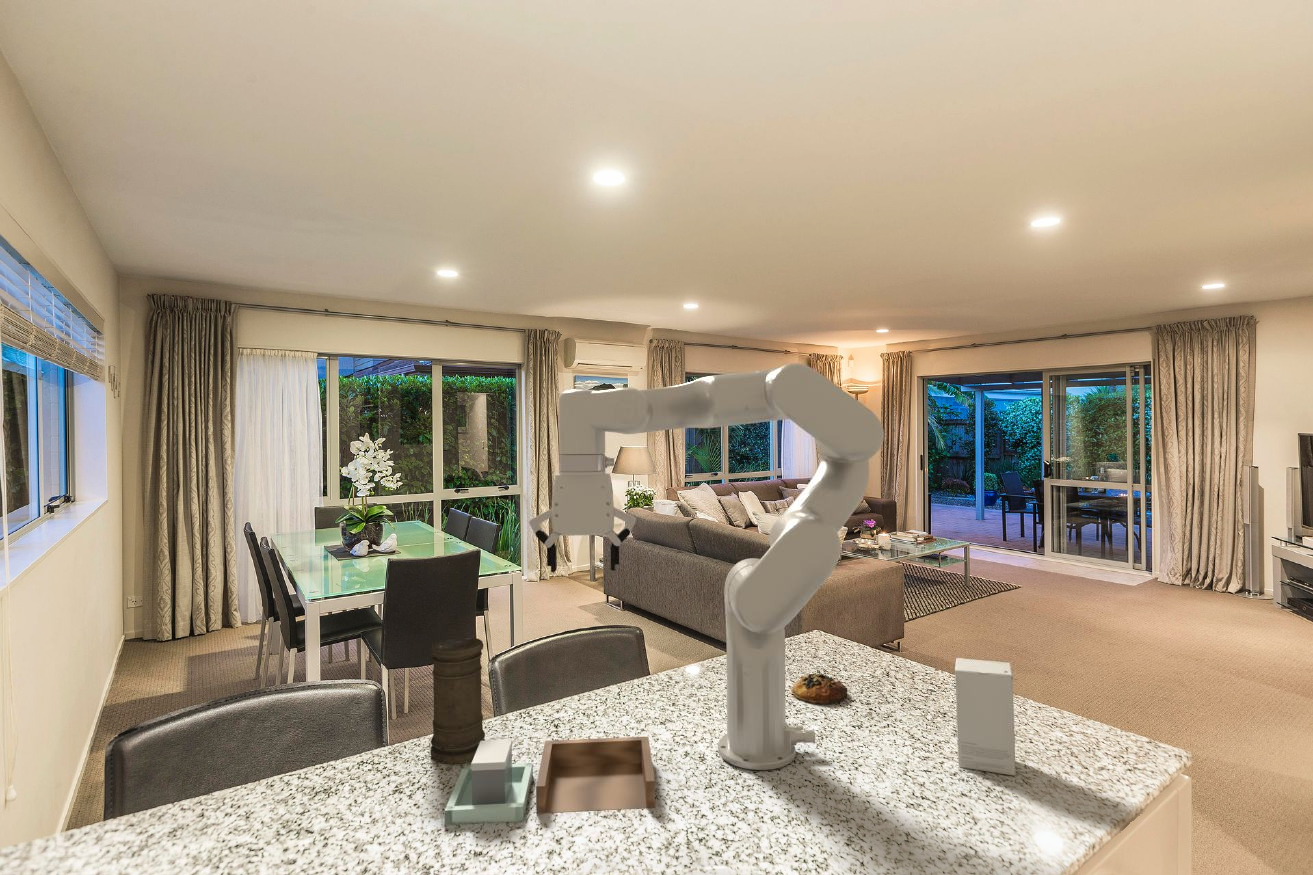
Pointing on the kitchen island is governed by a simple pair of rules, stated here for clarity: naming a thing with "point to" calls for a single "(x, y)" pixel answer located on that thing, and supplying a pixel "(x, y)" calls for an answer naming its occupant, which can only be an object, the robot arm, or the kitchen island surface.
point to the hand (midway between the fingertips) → (583, 569)
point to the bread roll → (819, 689)
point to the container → (457, 700)
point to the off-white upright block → (492, 772)
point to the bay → (595, 775)
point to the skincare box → (985, 716)
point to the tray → (466, 813)
